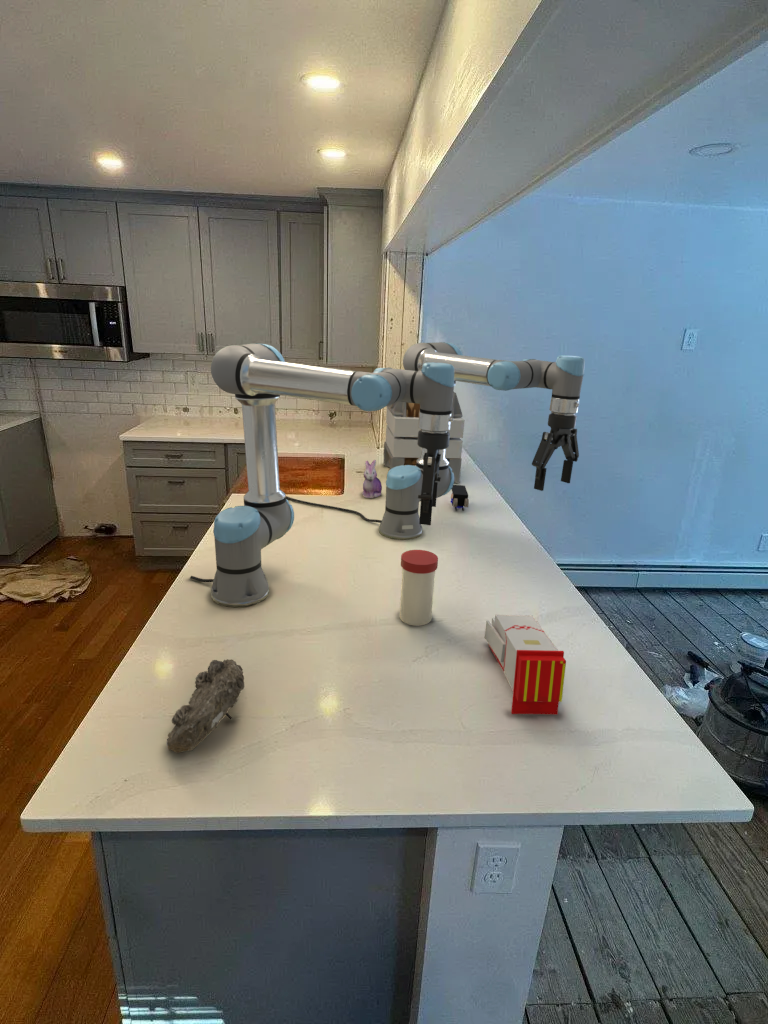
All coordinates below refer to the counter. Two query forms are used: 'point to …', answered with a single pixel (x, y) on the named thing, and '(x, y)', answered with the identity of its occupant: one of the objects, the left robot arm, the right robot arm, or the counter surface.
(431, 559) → the lid
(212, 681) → the fossil
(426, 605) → the jar
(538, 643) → the toy
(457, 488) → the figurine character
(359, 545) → the counter surface
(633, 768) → the counter surface
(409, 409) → the grey slatted crate
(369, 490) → the figurine
